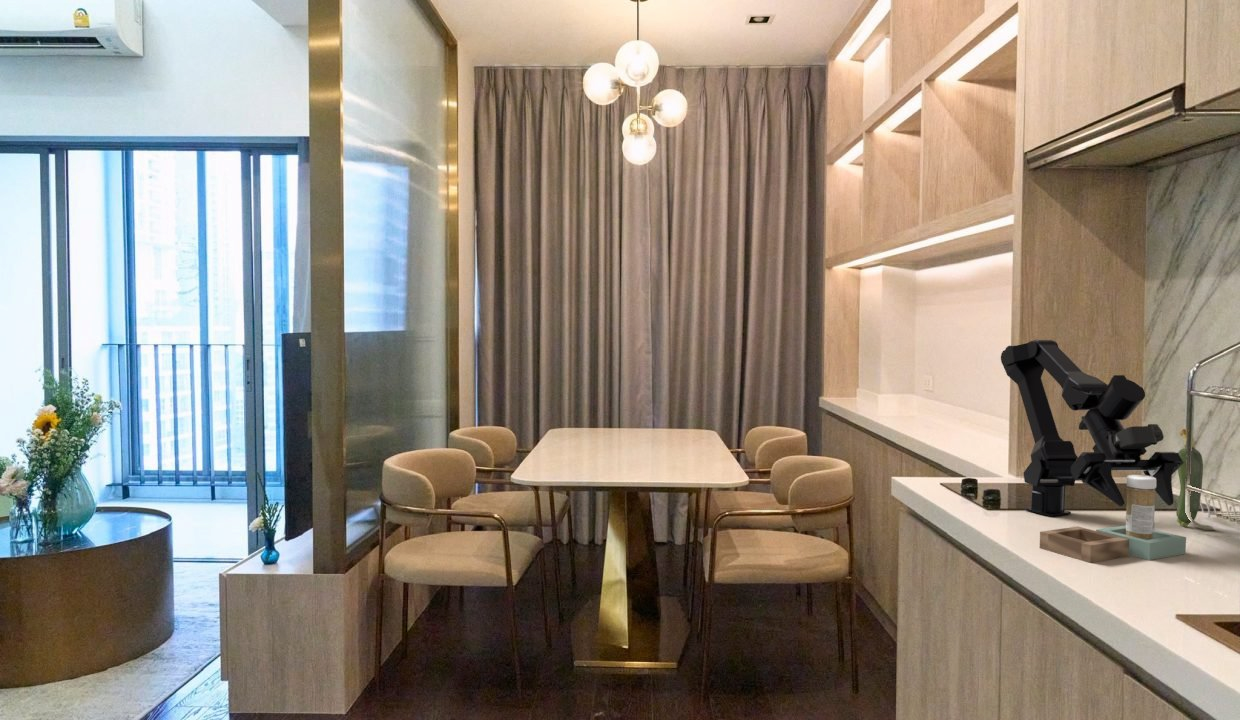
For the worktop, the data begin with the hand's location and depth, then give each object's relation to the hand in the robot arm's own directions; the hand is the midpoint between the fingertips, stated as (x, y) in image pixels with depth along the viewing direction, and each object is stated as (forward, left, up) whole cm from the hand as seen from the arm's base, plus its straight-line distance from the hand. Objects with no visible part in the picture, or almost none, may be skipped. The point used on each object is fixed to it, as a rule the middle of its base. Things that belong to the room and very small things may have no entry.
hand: (1146, 504), depth 150 cm
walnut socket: (+11, -4, -9) cm, 14 cm away
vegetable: (-25, -8, -9) cm, 28 cm away
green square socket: (0, -1, -9) cm, 9 cm away
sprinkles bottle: (0, -1, -9) cm, 9 cm away
